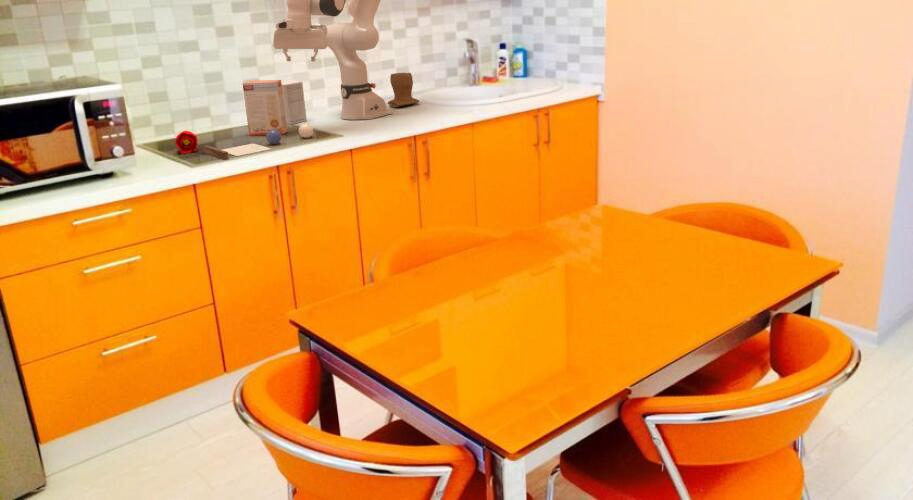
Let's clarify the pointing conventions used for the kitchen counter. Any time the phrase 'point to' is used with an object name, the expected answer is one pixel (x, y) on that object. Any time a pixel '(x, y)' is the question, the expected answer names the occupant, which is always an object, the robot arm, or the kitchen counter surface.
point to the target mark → (246, 149)
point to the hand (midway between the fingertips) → (301, 61)
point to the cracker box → (264, 106)
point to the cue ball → (306, 130)
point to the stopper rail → (216, 152)
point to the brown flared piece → (402, 90)
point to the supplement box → (293, 101)
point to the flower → (186, 141)
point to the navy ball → (273, 137)
